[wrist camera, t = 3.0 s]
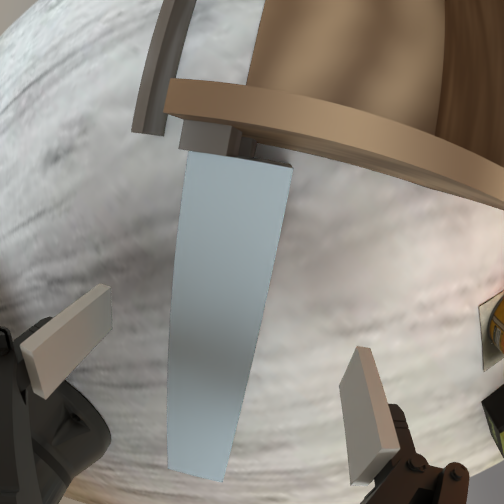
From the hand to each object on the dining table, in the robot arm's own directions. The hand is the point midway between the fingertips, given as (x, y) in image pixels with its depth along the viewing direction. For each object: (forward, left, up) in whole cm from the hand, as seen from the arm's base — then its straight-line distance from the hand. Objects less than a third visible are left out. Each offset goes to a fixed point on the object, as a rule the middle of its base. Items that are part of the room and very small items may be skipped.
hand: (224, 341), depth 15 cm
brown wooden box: (+2, +19, -8) cm, 20 cm away
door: (0, 0, -8) cm, 8 cm away
